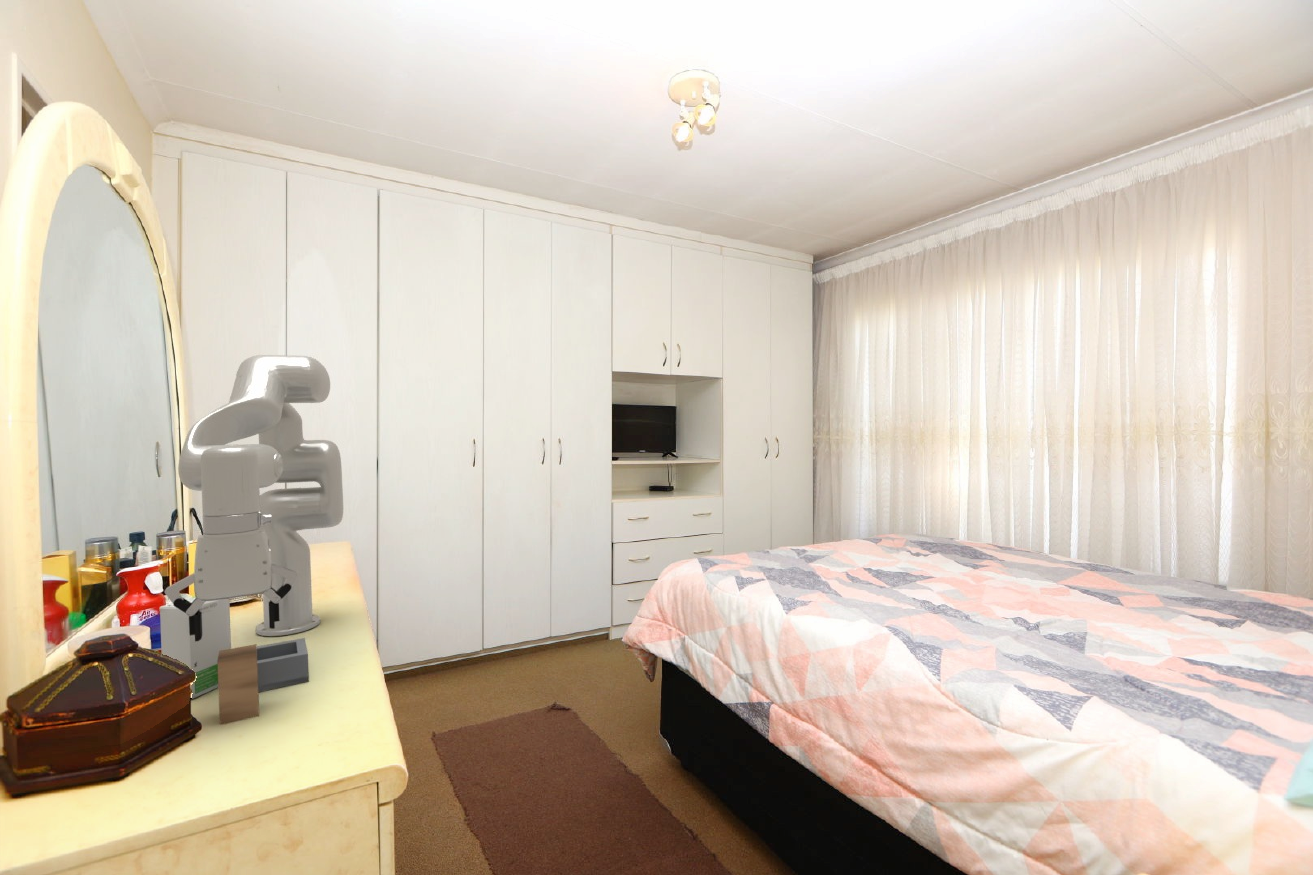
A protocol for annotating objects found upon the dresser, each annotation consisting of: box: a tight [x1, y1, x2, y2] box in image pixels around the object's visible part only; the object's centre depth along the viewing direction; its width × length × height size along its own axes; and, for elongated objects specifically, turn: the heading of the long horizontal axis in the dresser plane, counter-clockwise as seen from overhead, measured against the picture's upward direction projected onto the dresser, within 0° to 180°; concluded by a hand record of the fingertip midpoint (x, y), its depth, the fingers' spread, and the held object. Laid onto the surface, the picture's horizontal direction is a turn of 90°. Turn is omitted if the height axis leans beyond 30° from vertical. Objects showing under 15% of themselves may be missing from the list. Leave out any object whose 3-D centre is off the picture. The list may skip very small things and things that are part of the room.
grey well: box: [257, 637, 310, 693], centre depth 112 cm, size 10×10×5 cm
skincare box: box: [159, 597, 232, 700], centre depth 108 cm, size 8×7×16 cm
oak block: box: [217, 643, 260, 726], centre depth 98 cm, size 5×5×10 cm
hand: (236, 632), depth 98 cm, fingers open, 9 cm apart
